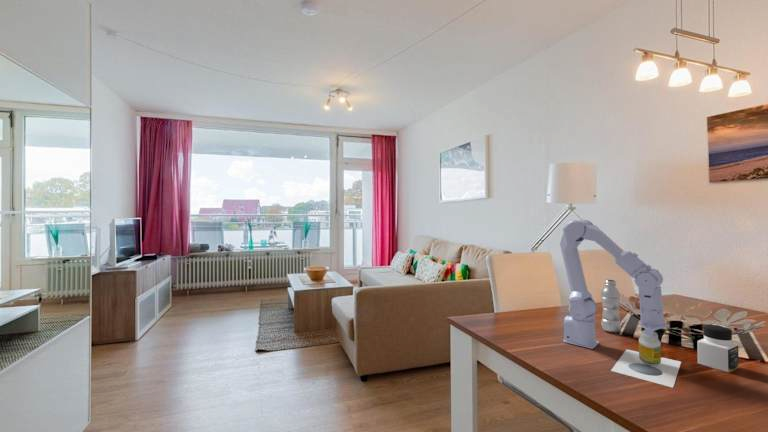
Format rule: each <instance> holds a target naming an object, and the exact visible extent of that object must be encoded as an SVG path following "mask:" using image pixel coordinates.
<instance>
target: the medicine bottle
mask: <svg viewBox="0 0 768 432" xmlns="http://www.w3.org/2000/svg"><path fill="white" fill-rule="evenodd" d="M732 332H733V331H732V329H731V328H730V327H727V326H725V325H720V324H715V323H714V324H713V323H711V324H710V323H708V324H705V325H703V338H701V339H698V340H697V342H696V343H697V348H696V349H697V364H699V365H702V366H705V367H708V368H711V369H715V370H718V371H721V372H725V373H727V374H728V373H731V372H733V371H735V370H737V369H739V365H740V364H739V344H738V343H735V342H733V339H732V338H733V334H732Z"/></svg>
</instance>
